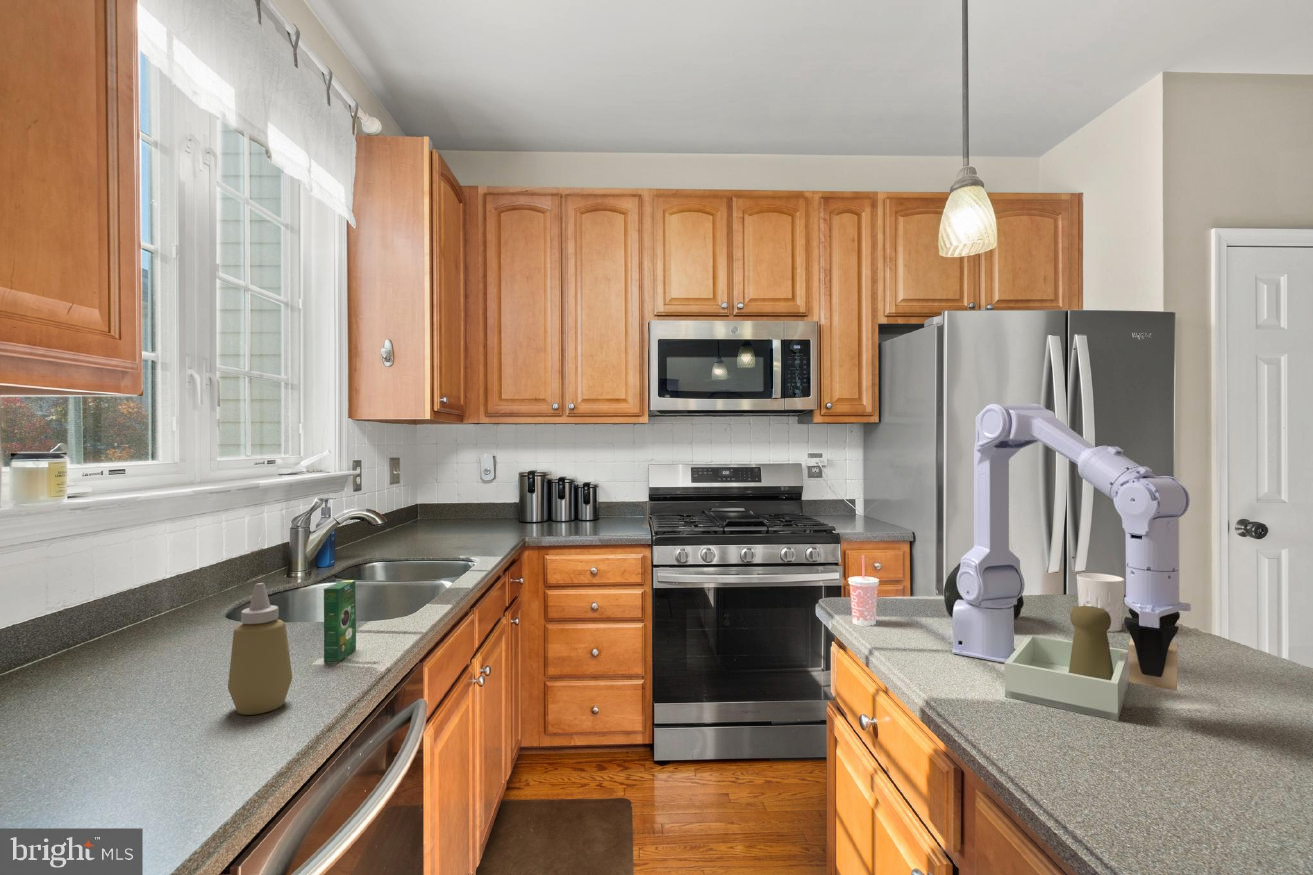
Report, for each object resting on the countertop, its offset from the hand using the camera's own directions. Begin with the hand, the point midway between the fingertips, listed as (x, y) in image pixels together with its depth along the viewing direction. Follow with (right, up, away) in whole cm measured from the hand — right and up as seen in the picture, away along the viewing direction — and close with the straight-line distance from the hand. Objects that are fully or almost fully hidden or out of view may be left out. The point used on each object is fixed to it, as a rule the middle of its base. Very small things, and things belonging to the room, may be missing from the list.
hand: (1152, 669), depth 88 cm
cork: (0, -6, +12) cm, 13 cm away
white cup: (+22, -7, +43) cm, 49 cm away
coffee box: (-123, -9, +30) cm, 127 cm away
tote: (-5, -7, +11) cm, 14 cm away
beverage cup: (-24, -8, +48) cm, 54 cm away
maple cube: (0, -2, 0) cm, 2 cm away
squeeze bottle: (-124, -9, +8) cm, 124 cm away
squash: (0, -7, +46) cm, 47 cm away
